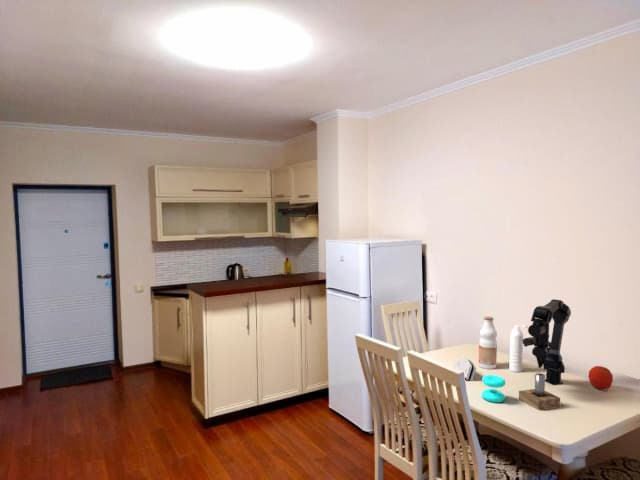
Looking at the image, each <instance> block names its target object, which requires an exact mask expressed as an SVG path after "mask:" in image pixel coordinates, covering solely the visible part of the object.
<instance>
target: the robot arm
mask: <svg viewBox="0 0 640 480" xmlns="http://www.w3.org/2000/svg"><path fill="white" fill-rule="evenodd" d="M571 314H572V312H571V308H570V307H569V306H568V305H567V304H566V303H565V302H564V301H563V300H562V299H561V300H560V299H555V298H553V299H551V300H550V301H549V302H547V303H546V304H545V305H538V306H537V305H536V307H535V308H534V309H533V312H532V316H531V318H530V322H532V324H530V325H529V326H528V327H527V332H528V334H529V335H530V337H525V338H524V337H523V340H522V341H523V347H529V346H533V347H532V349H531V350H532V351H531V354H532V355H533V356H534V357H535V358H536V361H537V365H538V366H537V367H538V369H542V367H543V370H546V373H545V383H548V384H550V385H561V384H562V385H563V384H564V382H563V381H562V374H564V373H565V369H566V368H565V365H564V362H563V357H562V354H561V347H562V340H563V335H564V327H565V325H566V323H567V322H568V321H569V319H570V317H571ZM552 320H553V328H552V332H551V339H550V323H551V322H552ZM550 340H551V341H550Z"/></svg>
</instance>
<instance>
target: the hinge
mask: <svg viewBox="0 0 640 480" xmlns="http://www.w3.org/2000/svg"><path fill="white" fill-rule="evenodd" d="M452 369H456V370H459V371H463V372H464V373H465V378H466V379H465V380H467V381H470V382H472V381H474V377H475V374H476V370H477V368H476V366H475V363H474V362H473V361H472V360H470V359H469V358H466V357H461V356H460V357H458V360H457V361H456V365H455V366H453V367H452Z"/></svg>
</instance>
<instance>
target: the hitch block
mask: <svg viewBox="0 0 640 480" xmlns="http://www.w3.org/2000/svg"><path fill="white" fill-rule="evenodd" d="M518 400H519V401H521V402H523V403H525V404H527V405H528V406H530V407H532V408H534V409H535V410H537V411H541V410H549V409H555V408H560V407H561V398H560V396H557V395H555V394H553V393H551V392H548V391H547V390H545V391H544V397H537V396H535V388H532V389H531V388H530V389H523V390H519V391H518Z"/></svg>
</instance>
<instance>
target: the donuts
mask: <svg viewBox="0 0 640 480" xmlns="http://www.w3.org/2000/svg"><path fill="white" fill-rule="evenodd" d="M481 380H482V383H483V384H484V385H485V386H487V387H489V388H487V389H485V390H483V391H482V392H481V397H482V398H483V400H485V401H487V402H490V403H502V402H504V400H505V399H506V396H505V394H504V393H503V392H502V391H500V390H497V389H498V388H503V387H504V386H505V385H506V380H505V379H504V377H502V376H499V375H495V374H487V375H484V376H482V378H481Z"/></svg>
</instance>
